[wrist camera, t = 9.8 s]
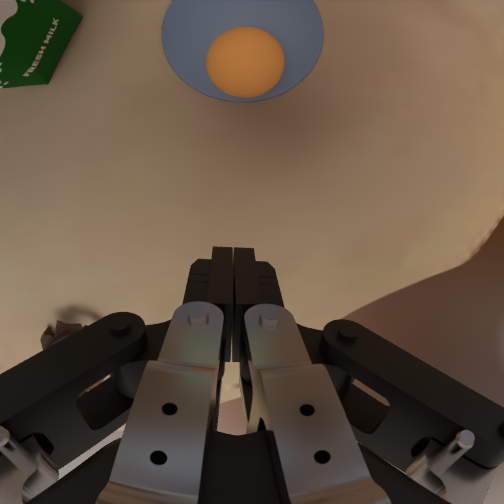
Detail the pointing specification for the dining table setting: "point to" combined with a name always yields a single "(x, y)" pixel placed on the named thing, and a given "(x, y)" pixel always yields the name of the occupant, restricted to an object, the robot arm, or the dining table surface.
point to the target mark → (232, 16)
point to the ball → (245, 62)
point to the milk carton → (33, 39)
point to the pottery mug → (60, 334)
